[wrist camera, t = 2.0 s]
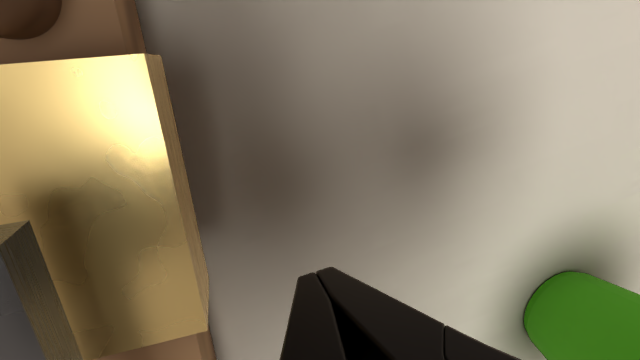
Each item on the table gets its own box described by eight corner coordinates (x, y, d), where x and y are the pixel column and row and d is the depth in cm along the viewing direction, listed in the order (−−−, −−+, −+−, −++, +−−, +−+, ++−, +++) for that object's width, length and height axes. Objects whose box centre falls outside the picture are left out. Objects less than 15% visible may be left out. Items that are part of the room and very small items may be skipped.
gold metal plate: (-120, 77, 8) (-248, 83, 6) (161, 55, 10) (143, 53, 7) (-3, 325, 10) (-63, 398, 8) (208, 278, 12) (207, 330, 10)
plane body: (-45, -41, 10) (-430, -190, 4) (124, -43, 11) (17, -168, 5) (128, 435, 16) (78, 652, 10) (226, 405, 17) (233, 588, 11)
